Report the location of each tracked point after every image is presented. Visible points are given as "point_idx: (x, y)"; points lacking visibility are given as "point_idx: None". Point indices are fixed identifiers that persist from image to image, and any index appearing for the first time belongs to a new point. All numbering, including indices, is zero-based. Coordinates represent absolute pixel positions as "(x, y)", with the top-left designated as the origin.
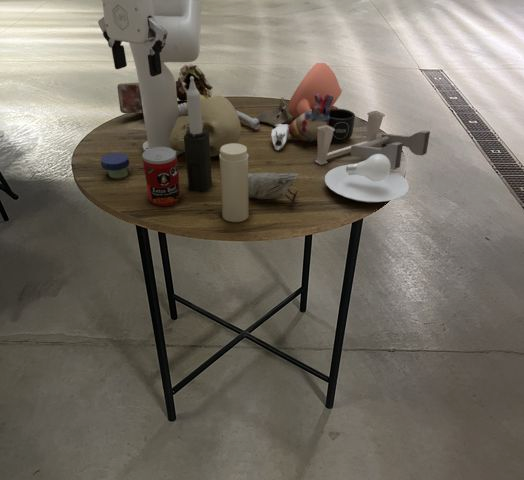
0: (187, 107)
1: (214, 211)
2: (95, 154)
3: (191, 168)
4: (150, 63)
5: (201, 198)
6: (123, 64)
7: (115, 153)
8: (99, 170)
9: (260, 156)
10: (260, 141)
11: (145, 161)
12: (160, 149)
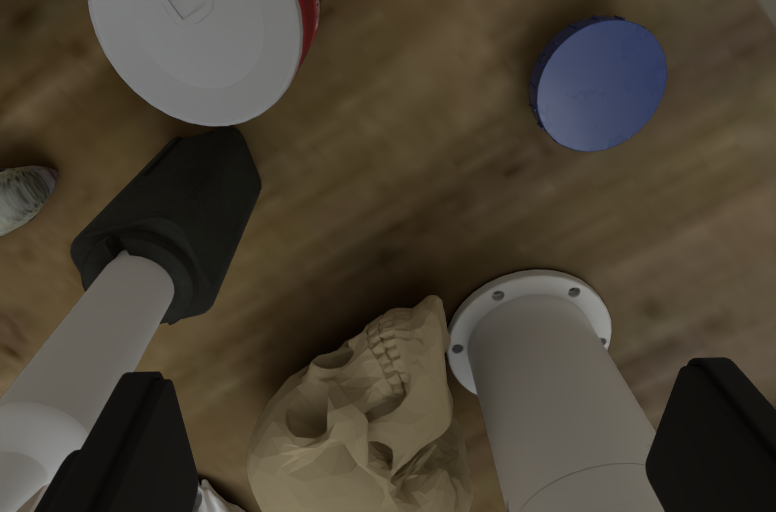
0: None
1: (5, 21)
2: (761, 174)
3: (189, 161)
4: (57, 493)
5: None
6: (668, 457)
7: (624, 134)
8: (672, 64)
9: (213, 432)
10: None
11: None
12: (250, 90)
